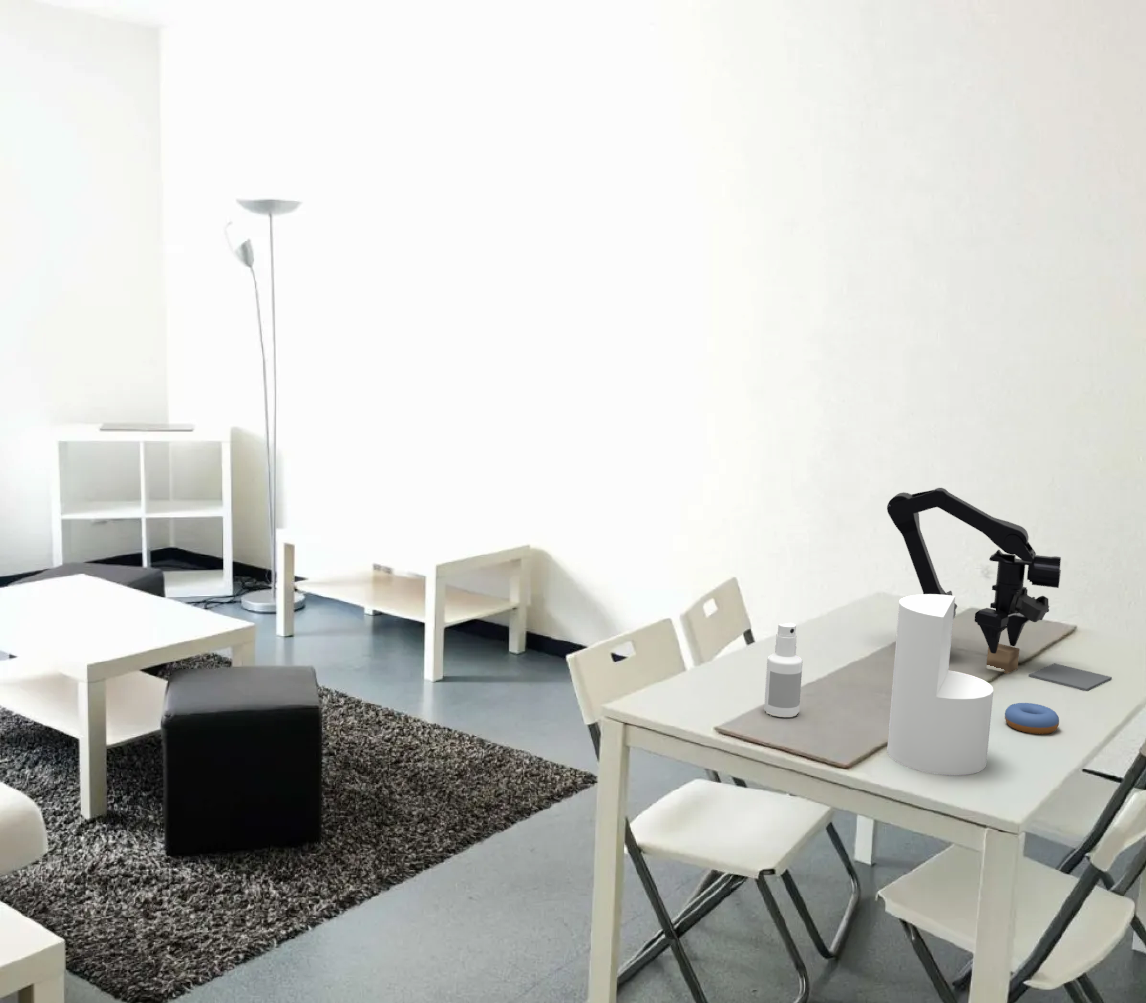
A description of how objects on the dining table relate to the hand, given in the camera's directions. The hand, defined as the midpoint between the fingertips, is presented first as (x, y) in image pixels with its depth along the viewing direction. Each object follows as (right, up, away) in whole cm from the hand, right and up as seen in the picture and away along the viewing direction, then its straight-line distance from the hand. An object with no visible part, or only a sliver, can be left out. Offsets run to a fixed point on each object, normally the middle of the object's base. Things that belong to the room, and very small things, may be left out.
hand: (1003, 649), depth 272 cm
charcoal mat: (+13, -6, -4) cm, 15 cm away
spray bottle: (-56, -9, -34) cm, 66 cm away
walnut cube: (0, -5, +1) cm, 5 cm away
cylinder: (-31, -13, -54) cm, 64 cm away
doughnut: (-8, -11, -37) cm, 39 cm away
